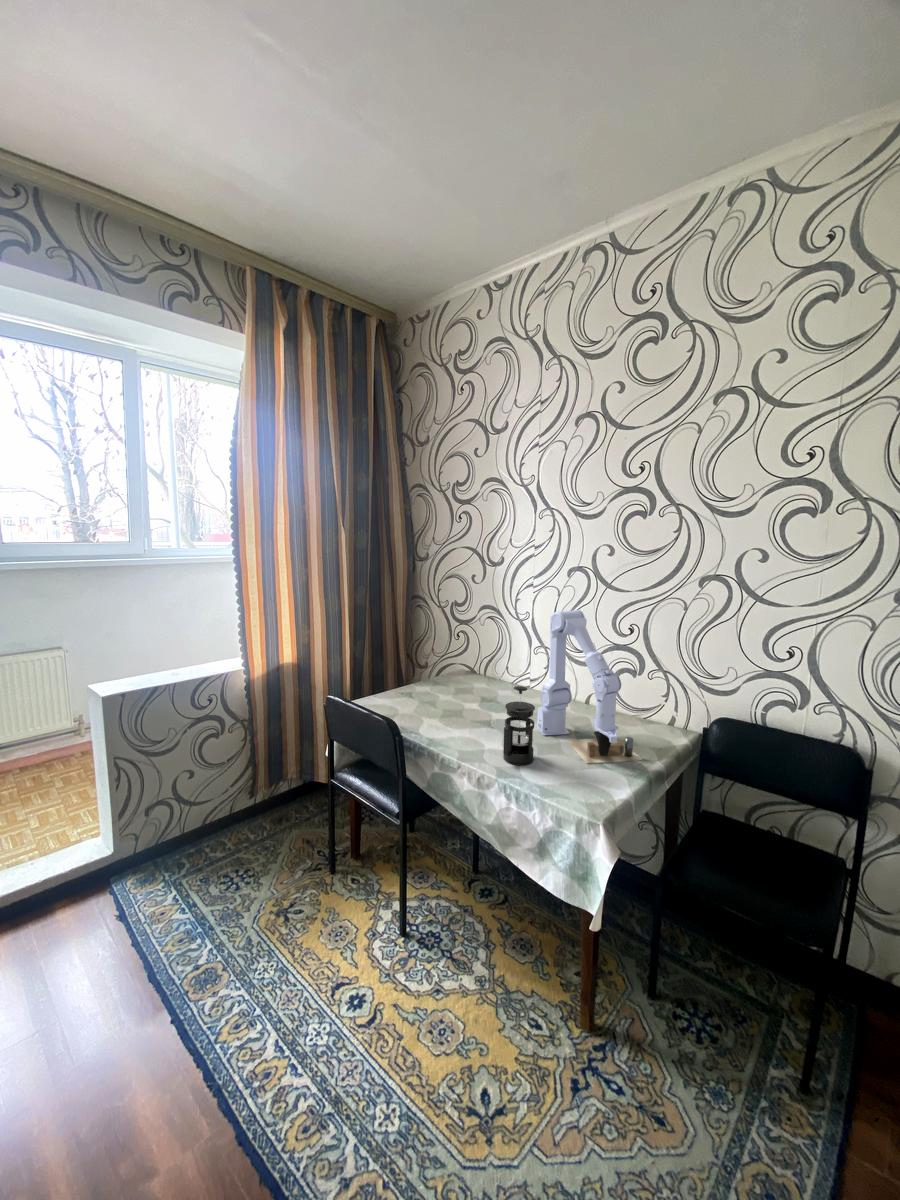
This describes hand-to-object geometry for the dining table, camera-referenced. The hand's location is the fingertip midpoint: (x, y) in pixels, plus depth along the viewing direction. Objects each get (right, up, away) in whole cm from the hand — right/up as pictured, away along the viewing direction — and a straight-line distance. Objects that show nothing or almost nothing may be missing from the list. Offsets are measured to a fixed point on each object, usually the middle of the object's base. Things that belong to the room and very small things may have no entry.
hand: (603, 755), depth 151 cm
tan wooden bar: (+1, 0, +2) cm, 2 cm away
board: (+2, -1, +6) cm, 7 cm away
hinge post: (+9, -1, +2) cm, 9 cm away
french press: (-27, -2, 0) cm, 27 cm away
